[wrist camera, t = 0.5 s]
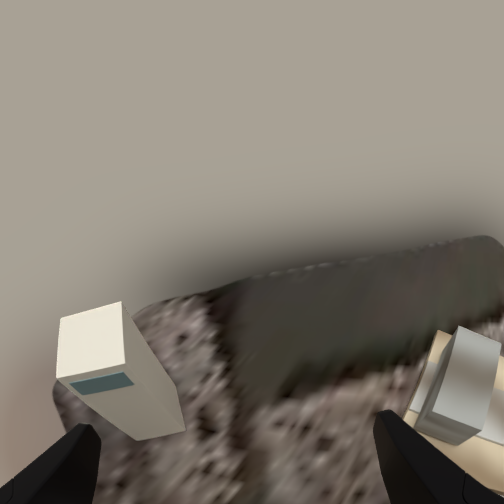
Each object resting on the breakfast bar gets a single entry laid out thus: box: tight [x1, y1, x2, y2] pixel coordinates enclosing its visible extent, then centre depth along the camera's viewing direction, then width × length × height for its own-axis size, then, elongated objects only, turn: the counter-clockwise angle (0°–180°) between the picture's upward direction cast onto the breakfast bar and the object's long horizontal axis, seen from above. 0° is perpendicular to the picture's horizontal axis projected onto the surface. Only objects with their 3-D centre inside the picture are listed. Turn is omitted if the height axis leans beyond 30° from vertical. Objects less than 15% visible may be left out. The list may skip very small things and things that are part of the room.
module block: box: [56, 301, 186, 441], centre depth 20 cm, size 5×4×12 cm
